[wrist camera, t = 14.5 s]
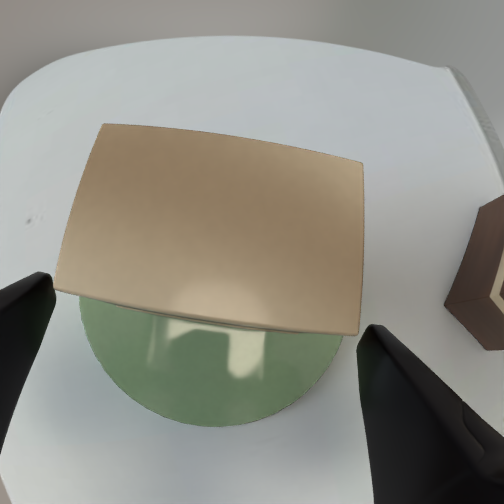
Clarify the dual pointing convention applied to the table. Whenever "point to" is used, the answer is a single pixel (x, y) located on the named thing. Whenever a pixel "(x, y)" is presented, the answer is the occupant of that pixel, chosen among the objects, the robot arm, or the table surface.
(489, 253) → the cake loaf
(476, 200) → the table surface
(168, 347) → the plate
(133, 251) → the cake slice
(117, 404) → the table surface
